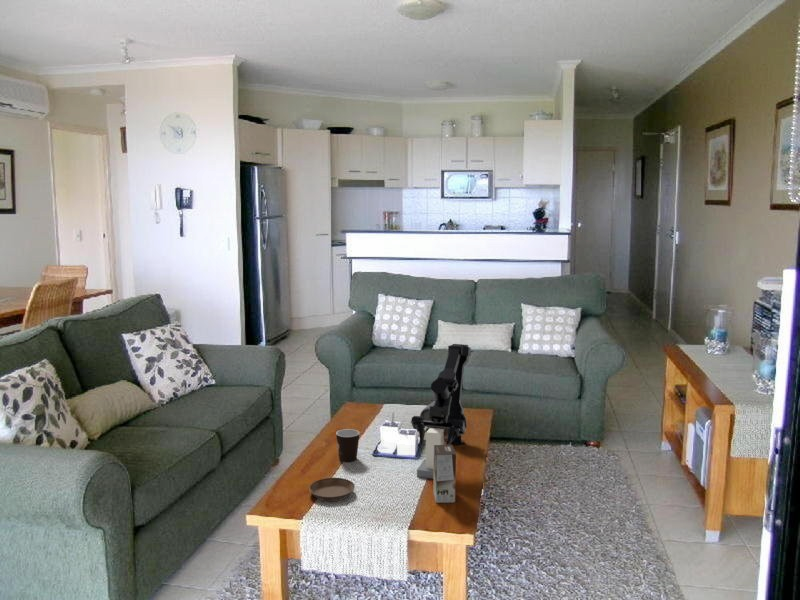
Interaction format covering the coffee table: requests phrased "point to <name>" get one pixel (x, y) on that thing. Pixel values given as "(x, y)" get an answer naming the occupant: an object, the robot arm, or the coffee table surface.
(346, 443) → the coffee mug
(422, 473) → the plinth
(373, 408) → the coffee table surface
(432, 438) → the post
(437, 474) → the coffee box
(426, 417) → the bluetooth speaker
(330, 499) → the saucer
